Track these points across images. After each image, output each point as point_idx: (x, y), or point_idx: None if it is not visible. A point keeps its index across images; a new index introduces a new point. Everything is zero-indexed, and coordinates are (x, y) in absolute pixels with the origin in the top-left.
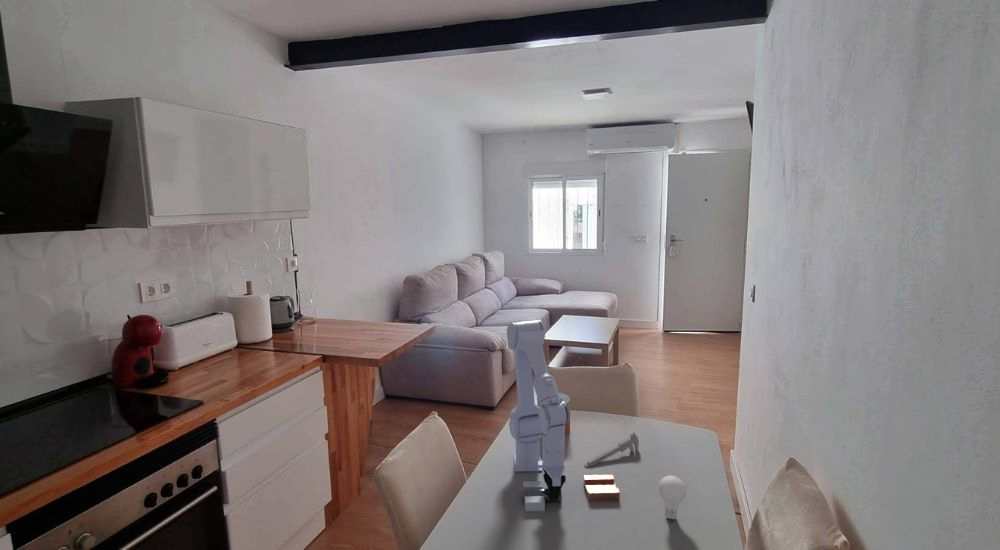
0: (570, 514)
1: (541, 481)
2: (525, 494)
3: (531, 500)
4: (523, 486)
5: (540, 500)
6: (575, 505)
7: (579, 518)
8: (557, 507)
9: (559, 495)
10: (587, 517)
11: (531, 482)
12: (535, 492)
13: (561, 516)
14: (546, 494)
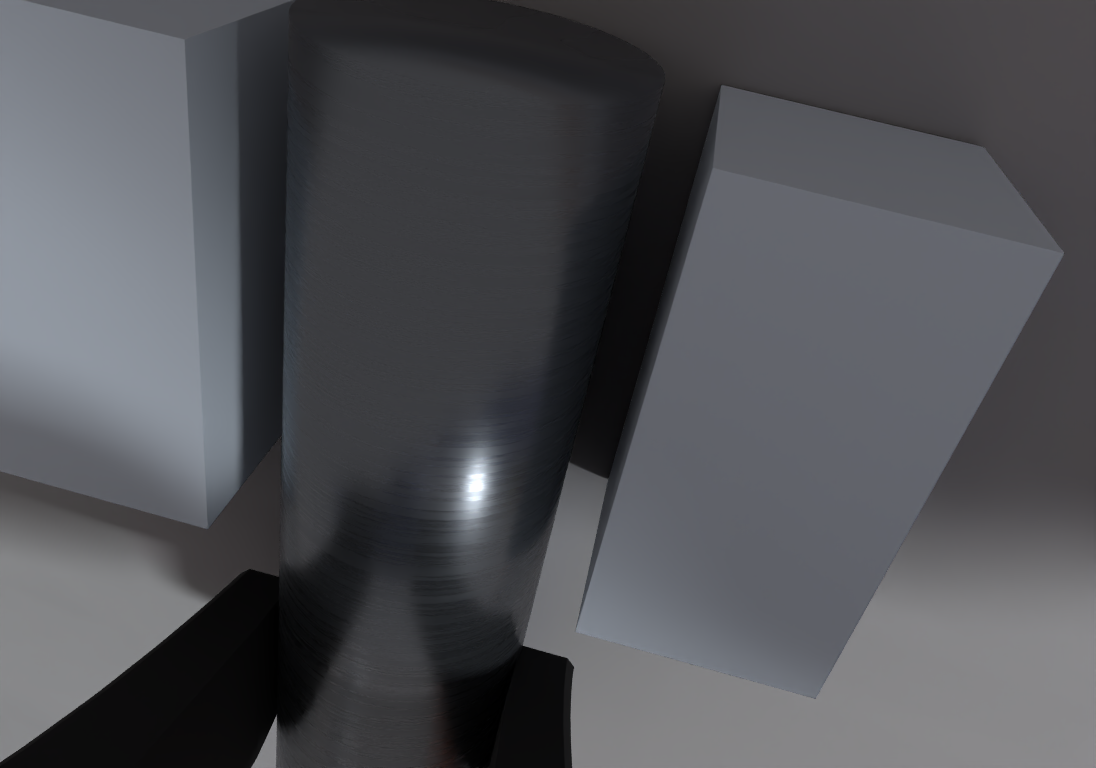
0: (80, 639)
1: (805, 695)
2: (302, 103)
3: (4, 194)
4: (909, 181)
5: (30, 408)
6: (272, 758)
7: (14, 688)
8: (232, 563)
9: (276, 749)
10: None
11: (880, 476)
12: (306, 414)
13: (22, 529)
14: (281, 592)
